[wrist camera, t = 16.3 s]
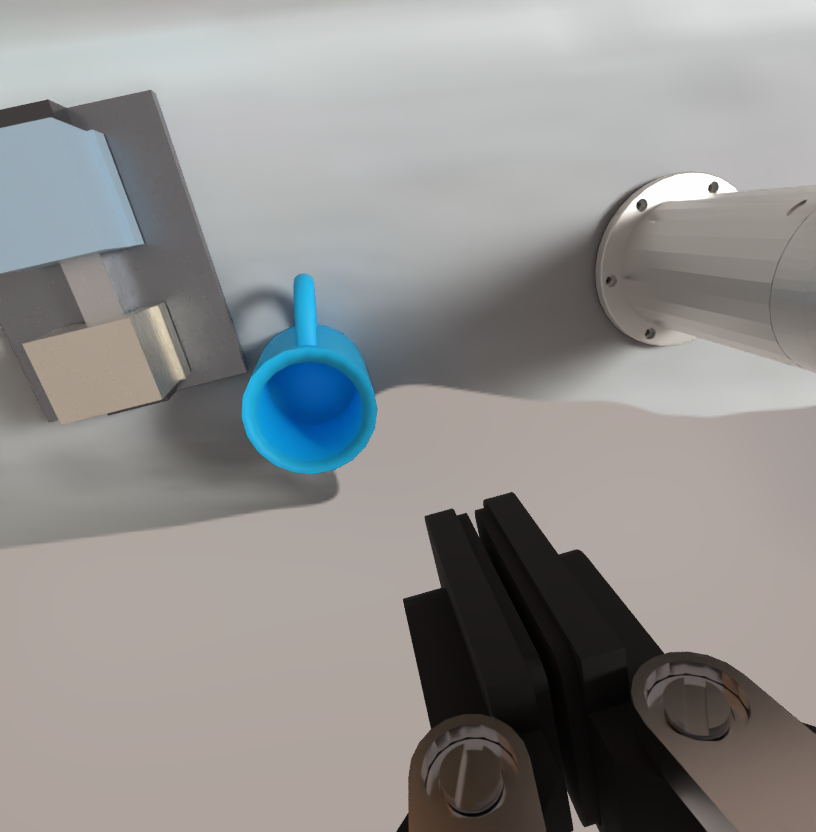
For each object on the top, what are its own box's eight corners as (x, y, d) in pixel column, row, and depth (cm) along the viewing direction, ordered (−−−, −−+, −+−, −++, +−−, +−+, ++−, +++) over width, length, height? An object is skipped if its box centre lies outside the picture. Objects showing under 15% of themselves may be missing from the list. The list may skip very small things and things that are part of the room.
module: (103, 133, 33) (59, 115, 28) (144, 244, 36) (111, 247, 30) (-12, 159, 33) (-80, 145, 27) (37, 268, 35) (-17, 277, 29)
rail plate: (155, 93, 34) (114, 61, 27) (248, 369, 40) (233, 398, 34) (-78, 144, 33) (-179, 123, 26) (55, 417, 39) (0, 457, 33)
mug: (368, 426, 43) (379, 469, 36) (261, 432, 42) (248, 478, 34) (363, 267, 39) (373, 278, 32) (245, 270, 38) (226, 281, 30)
